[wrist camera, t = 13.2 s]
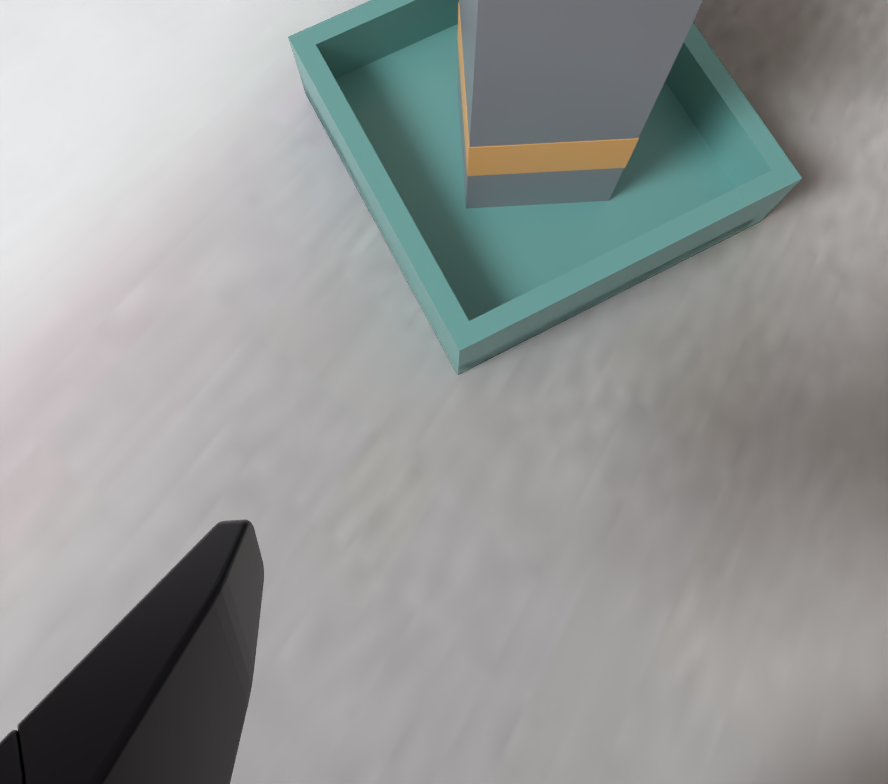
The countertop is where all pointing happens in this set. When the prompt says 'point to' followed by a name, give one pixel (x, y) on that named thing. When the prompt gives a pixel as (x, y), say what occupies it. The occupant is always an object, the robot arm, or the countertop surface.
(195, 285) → the countertop surface
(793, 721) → the countertop surface
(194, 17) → the countertop surface
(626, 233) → the tray
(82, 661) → the robot arm
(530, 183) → the gray rectangular block
